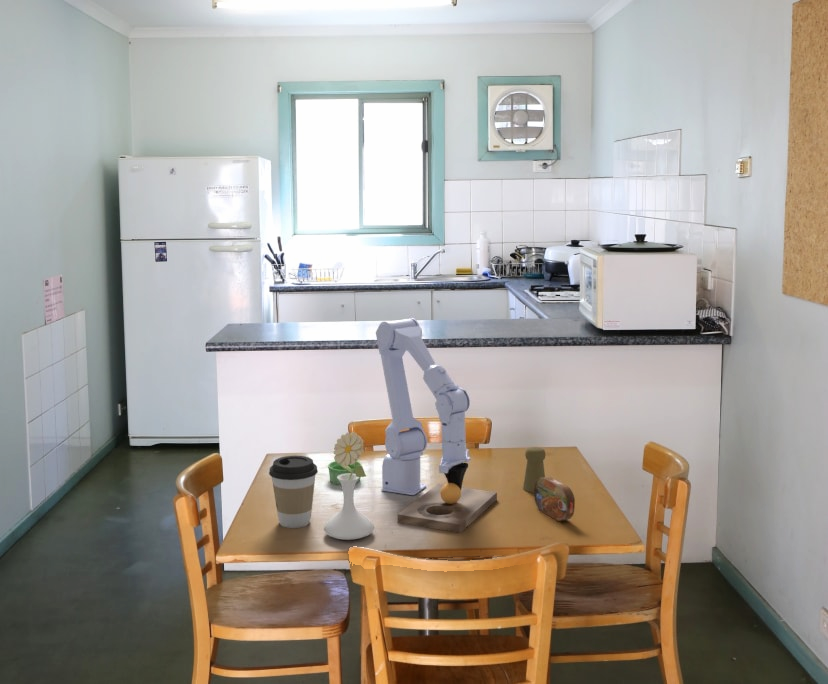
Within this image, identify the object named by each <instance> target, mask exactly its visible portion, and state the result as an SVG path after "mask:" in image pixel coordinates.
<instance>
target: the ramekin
mask: <svg viewBox="0 0 828 684" xmlns="http://www.w3.org/2000/svg"><path fill="white" fill-rule="evenodd" d="M360 465H361V466H362V467H363V464H362V462H360V461H358V460H357V462H356V467H357V466H360ZM348 466H349V467H350V468H351V471H353V469H354V467H355V463H354V464H352V465H350V464H349V465H348ZM327 469H328V474H329V482H331V483H332V484H335V485H339V486H342V485H341V483H340V481H339V480H338V479H337V476H339V475H341V474H348V473H350V474H351V473H352V472H349V471H348V470H346V469H344V468H343V467H342V466H341V465H340V463H339V464H338V463H337V461H335V460H334V461H331V462H330V463H328V464H327ZM353 474H355V470H354V472H353ZM360 481H361V477H359V479H358V480H357V482H356V484H357V483H358V482H360Z"/></svg>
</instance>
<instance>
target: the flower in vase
mask: <svg viewBox="0 0 828 684" xmlns="http://www.w3.org/2000/svg"><path fill="white" fill-rule="evenodd" d="M364 451H365V450H364V439H362V437H361V436H360V435H358V433H356V432H355V431H352V432H350V433H349V432H346V433H345V434H341V436H340V438H337V440H336V443H335V444H334V450H333V455H334V456H333V460H334V461H337V463H338V464H339V463H340V465H341V466H342V467H343V468H344V469H346V470H348V471H349V472H352V473H351V474H350V473H348V474H341V475H339V476H337V479H338V480H339V481H340V483H341V485H340V486H341V488H342V492H343V493H342V494H343V495H342V496H343V506H342V508H341V509H340V510H339V511H338V512H337V513H335V514H334V515H333V516H331V517H330V518H329V519H328V520H327V522H326V523H325V525H324V527H323V531H324V532H325V534H326V535H328V537H331V538H334V539H337V540H345V541H352V540H358V539H362V538H365V537H368V536H369V535H371V534H372V533H373V531H374V530H375V526H374V523H373V521H372V520H370V519H369V517H367V516H366V515H365V514H363V513H362V512H360V511H359V510H358V509H357V508H356V506H355V503H354V494H355V489H356V488H355V487H356V484H357V483H358V482H357V480H358V479H359V477H360V478H364V477H367V475H366V473H365V469H364V468H363V465H362V466H361V465H360V466H357V467H356V462H357V461H358V459H360V458H361V455H362V454H363V453H364ZM354 463H355V467H354V469H353V471H351V468H350V467H349V466H348V465H349V464H350V465H352V464H354ZM354 470H355V474H353V472H354ZM356 482H357V483H356Z"/></svg>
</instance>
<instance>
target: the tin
mask: <svg viewBox="0 0 828 684" xmlns="http://www.w3.org/2000/svg"><path fill="white" fill-rule="evenodd" d="M533 497H534V501H535V504H536V507H537V508H538V510H539V511H541V512H542V513H543V514H546V515H547V516H549V517H550V518H552V519H553V520H555V521H556V522H557V521H558V522H562V521H568V520H570V519H571V518H572V517H573V516H574V514H575V508H576V507H575V504H576V499H575V495H574V492H573V491H572V489H571V488H570V487H569V486H567V485H566V484H564V483H562V482H560V481H558V479H557V480H556V479H555V478H553V477H548V476H545V477H544V478H543V477H540V478H538V479H537V481H536V483H535V486H534V493H533Z"/></svg>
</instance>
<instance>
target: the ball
mask: <svg viewBox="0 0 828 684" xmlns="http://www.w3.org/2000/svg"><path fill="white" fill-rule="evenodd" d="M443 485H444V486H443V487H442V489H441V492H440V495H441V498H442V500H443V501H444V502H446V503H448V504H453V503H456V502H457V501H458V500H459V499H460V497H461V490H460V488H459V487H458V486H457V485H456V484H454V483H448V482H447V483H445V484H443Z"/></svg>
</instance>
